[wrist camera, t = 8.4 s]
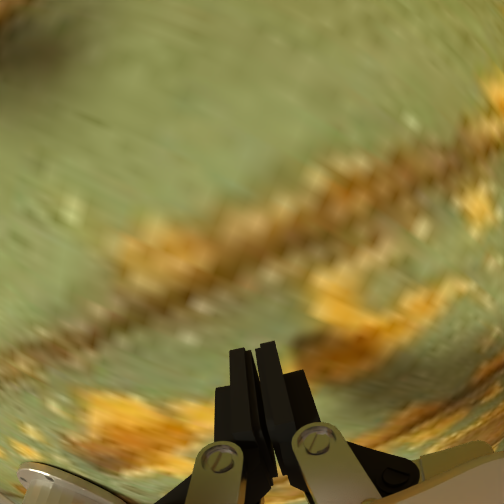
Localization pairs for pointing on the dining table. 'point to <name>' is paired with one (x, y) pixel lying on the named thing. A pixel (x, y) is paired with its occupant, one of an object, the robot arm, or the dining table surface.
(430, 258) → the dining table surface
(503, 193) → the dining table surface
